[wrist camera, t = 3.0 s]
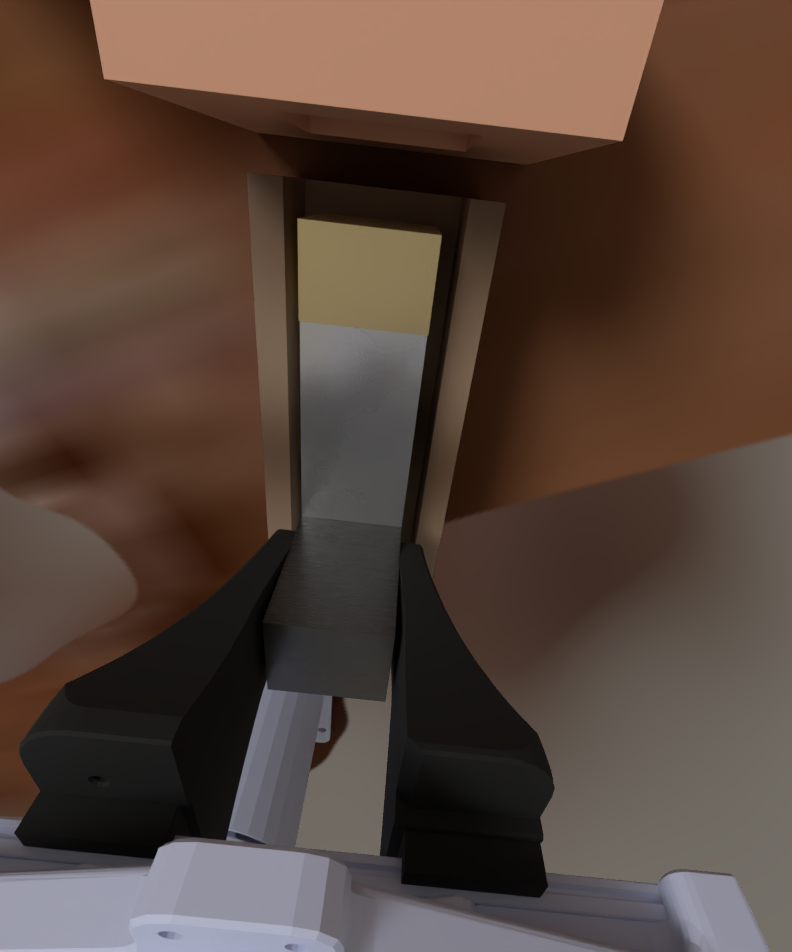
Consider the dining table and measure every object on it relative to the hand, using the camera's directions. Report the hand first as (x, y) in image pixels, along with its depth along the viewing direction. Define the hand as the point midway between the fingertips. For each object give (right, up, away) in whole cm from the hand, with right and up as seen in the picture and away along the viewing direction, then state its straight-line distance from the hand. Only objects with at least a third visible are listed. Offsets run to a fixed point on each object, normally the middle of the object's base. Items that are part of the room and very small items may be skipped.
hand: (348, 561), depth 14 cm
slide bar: (0, +4, +2) cm, 4 cm away
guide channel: (+1, +5, +4) cm, 6 cm away
